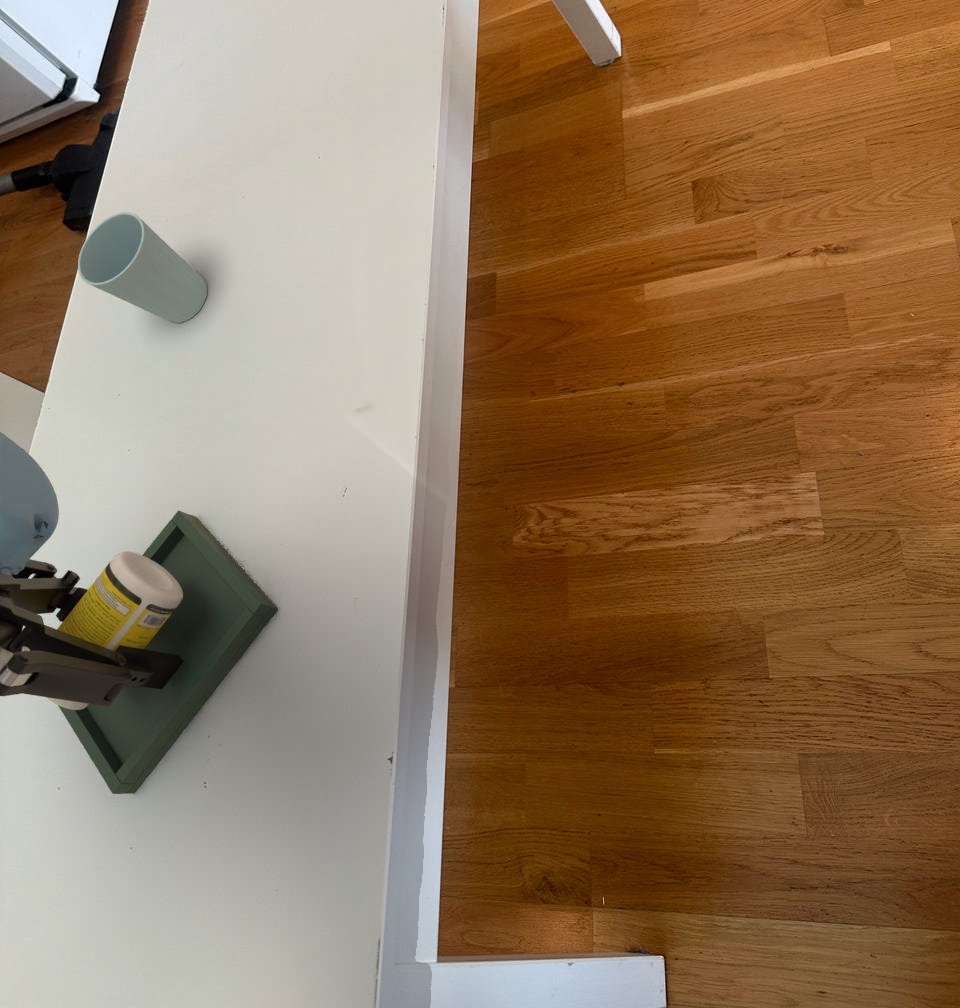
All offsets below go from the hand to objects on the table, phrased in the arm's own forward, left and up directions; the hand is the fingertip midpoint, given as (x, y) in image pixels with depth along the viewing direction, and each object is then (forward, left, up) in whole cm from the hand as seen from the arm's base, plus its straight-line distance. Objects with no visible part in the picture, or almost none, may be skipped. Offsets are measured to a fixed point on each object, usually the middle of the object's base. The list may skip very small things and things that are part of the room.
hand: (149, 643), depth 71 cm
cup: (+30, -17, -2) cm, 35 cm away
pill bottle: (+1, -6, +5) cm, 8 cm away
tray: (0, 0, -2) cm, 2 cm away
